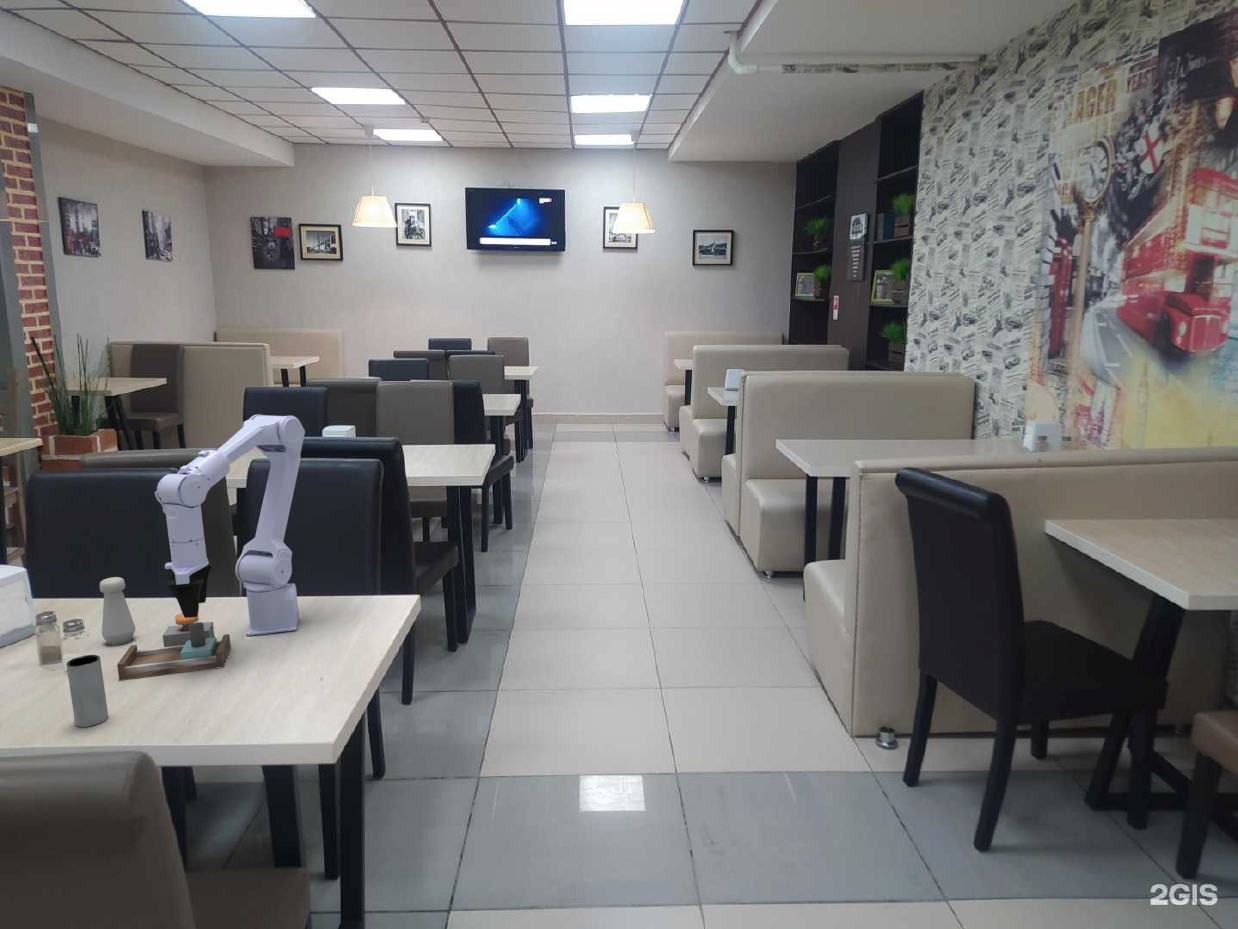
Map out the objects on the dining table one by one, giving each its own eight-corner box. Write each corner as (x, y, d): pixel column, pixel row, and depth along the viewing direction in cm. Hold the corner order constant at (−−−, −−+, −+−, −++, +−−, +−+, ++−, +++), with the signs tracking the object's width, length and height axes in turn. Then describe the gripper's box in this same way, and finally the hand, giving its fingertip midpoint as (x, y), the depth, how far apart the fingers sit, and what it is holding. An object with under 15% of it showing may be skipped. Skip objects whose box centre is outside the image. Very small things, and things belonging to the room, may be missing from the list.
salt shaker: (143, 636, 168) (135, 574, 166) (124, 647, 163) (115, 583, 160) (116, 635, 169) (108, 574, 167) (96, 646, 163) (87, 583, 161)
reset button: (202, 630, 165) (199, 610, 164) (198, 638, 161) (195, 617, 161) (179, 633, 164) (177, 613, 163) (175, 640, 160) (173, 620, 160)
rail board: (230, 648, 161) (229, 634, 161) (223, 667, 153) (221, 652, 152) (132, 660, 156) (130, 645, 156) (119, 680, 148) (117, 664, 147)
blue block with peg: (217, 647, 159) (213, 617, 158) (211, 659, 153) (208, 628, 152) (188, 650, 158) (184, 620, 156) (181, 663, 152) (177, 632, 151)
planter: (84, 714, 135) (76, 655, 133) (114, 713, 136) (105, 653, 134) (69, 728, 131) (60, 667, 129) (99, 726, 131) (90, 665, 129)
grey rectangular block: (214, 638, 167) (212, 621, 166) (210, 647, 162) (208, 630, 161) (170, 643, 164) (168, 626, 164) (164, 652, 160) (162, 635, 159)
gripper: (171, 530, 157) (179, 599, 160) (152, 551, 143) (162, 626, 146) (212, 527, 159) (219, 595, 162) (197, 547, 145) (206, 621, 148)
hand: (195, 609), depth 154 cm, fingers open, 7 cm apart
